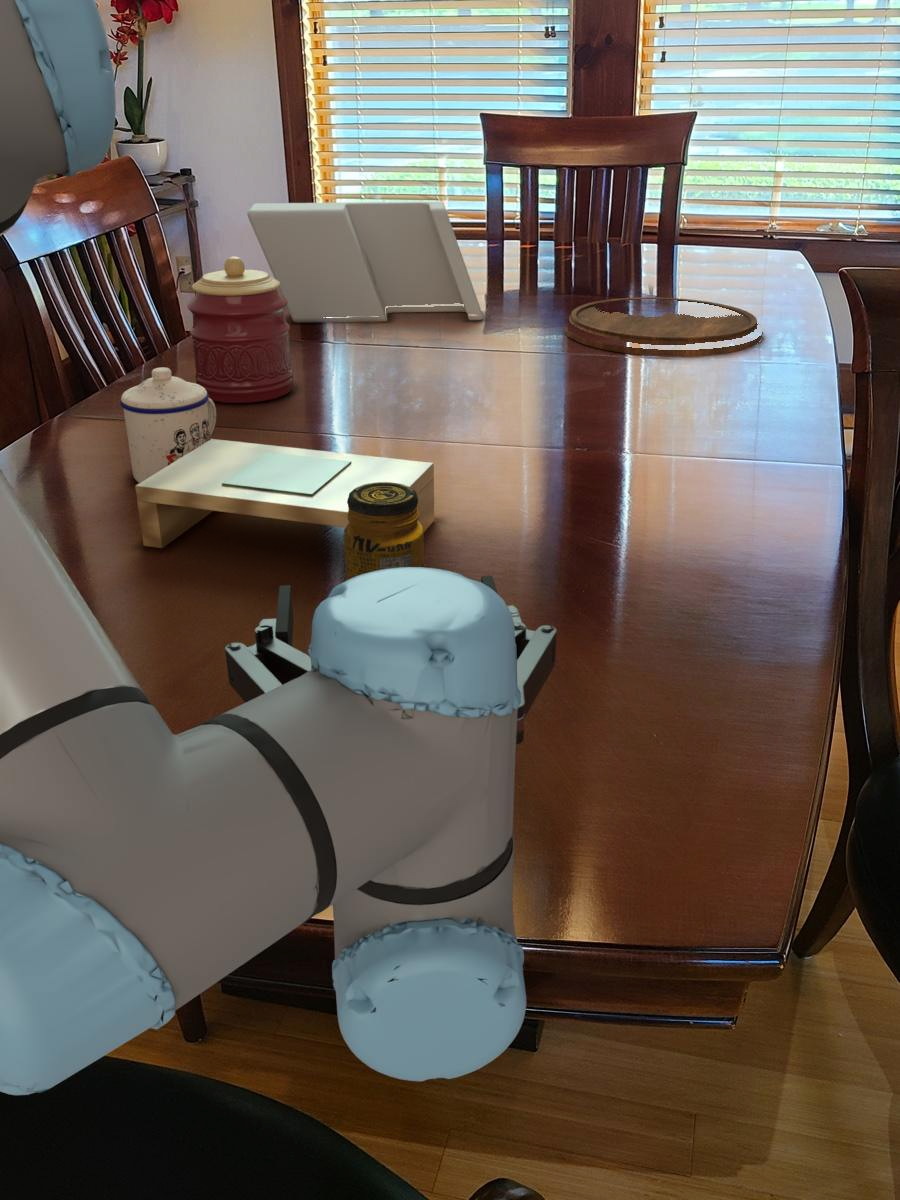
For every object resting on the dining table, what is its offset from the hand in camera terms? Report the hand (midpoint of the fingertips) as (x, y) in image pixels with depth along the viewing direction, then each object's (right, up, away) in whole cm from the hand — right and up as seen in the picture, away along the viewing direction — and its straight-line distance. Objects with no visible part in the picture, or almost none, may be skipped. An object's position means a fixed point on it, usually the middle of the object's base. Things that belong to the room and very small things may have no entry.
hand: (387, 598), depth 73 cm
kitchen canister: (-23, +28, +73) cm, 82 cm away
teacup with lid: (-25, +14, +45) cm, 54 cm away
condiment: (-1, -3, +11) cm, 12 cm away
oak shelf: (-11, +6, +30) cm, 32 cm away
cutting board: (+39, +44, +103) cm, 118 cm away
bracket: (-9, +49, +114) cm, 124 cm away
